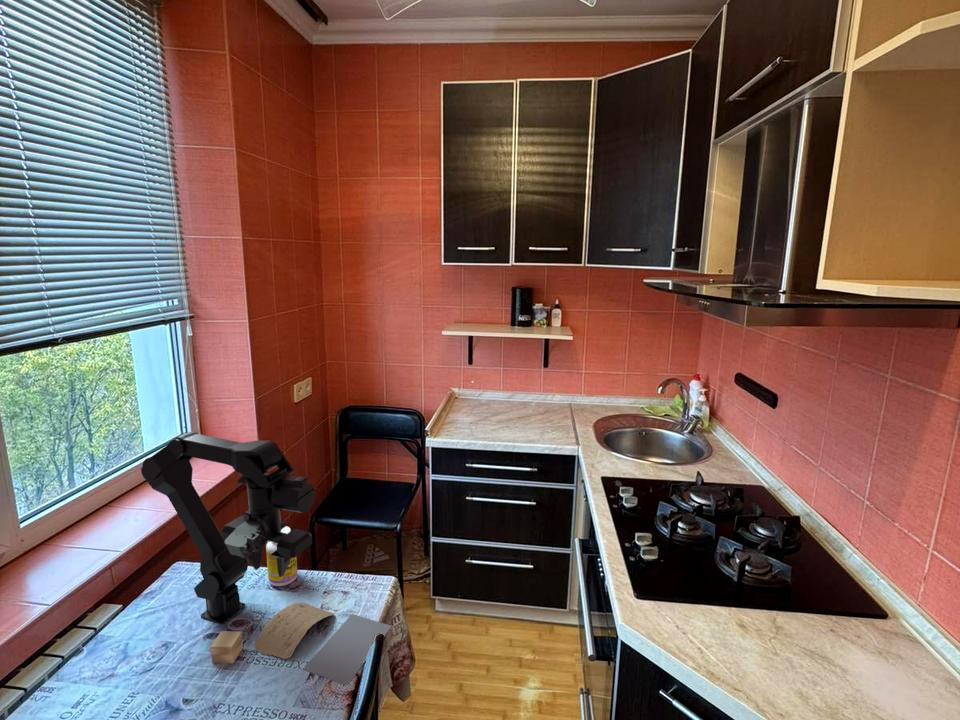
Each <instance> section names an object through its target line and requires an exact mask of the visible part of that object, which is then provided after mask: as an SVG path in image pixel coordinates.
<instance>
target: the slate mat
mask: <svg viewBox="0 0 960 720" xmlns="http://www.w3.org/2000/svg"><path fill="white" fill-rule="evenodd" d="M391 628H393V626H392V625H390V624H387V623H383V622H380V621H377V620H374V619H370V618H367V617H364V616H360V615H357V614H354V613H352V614H350V616H349V617H348V618H347V619H346V620H345V621H344V622H343V624H341V625H340V627H339V628H338V629H337V630H336V631H335V632H334V633H333V635H332V636H331V637H330V638H329V639H328V640H327V641H326V642H325V643H324V644H323V646H322V647H321V648H320V649H319V650H318V651H317V652H316V654H314V656H313V657H312V658H311V659H310V660H309V661H308V662H307V663H306V665H304V667H303V668H302V670H303V671H306V672H307V673H308V672H309V673H311V674H314V675H316V676H319V677H321V678H324V679H327V680H329V681H330V680H331V681H333V682H336V683H338V684H341V685H344V686H348V685H349V683H351V681H352V680H353V679H354V678H355V676H356V675H357V673H358V672H359V671H360V670H361V668H362V667H363V666H362V665H364V664H363V661H364V658H365V656H366V654H367V653H368V651H369V649H370V647H371V645H372V642H373V639H374V635H376V634H378V633H380V634H383V635H384V638H385V636H387V634H388V633H389V632H390V630H391Z"/></svg>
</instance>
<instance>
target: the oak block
mask: <svg viewBox="0 0 960 720" xmlns="http://www.w3.org/2000/svg"><path fill="white" fill-rule="evenodd" d="M242 634H243V633H242V631H233V630H232V631H224V630H221V631H220V633H219V634H218V635H217V637H216V638H215V639H214V640H213V642H212V644H211V645H210V654H211V663H212V664H234V662H235V661H236V659H237V658H238V656H239V655H240V653H241V651H242V650H243V648H244V645H243V635H242Z"/></svg>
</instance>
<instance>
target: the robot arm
mask: <svg viewBox="0 0 960 720" xmlns="http://www.w3.org/2000/svg"><path fill="white" fill-rule="evenodd" d="M194 458H195V459H199V460H203V461H204V460H205V461H209V462H212V463H218V464H223V465H226V466H230V467H232V468H233V470H234V472H235V473H237V474H239V475H242V476H241V477H240V478H238V479H237V483H238V484H241V485H246V488H247V489H246V490H247V500H248V501H247V502H248V510H246V511H245V512H244V515H240V516H238V517H237V518H235V519H232V520H231V521H230V522H228V523H227V524H224V526H223V528H222V530H221V531H220V530H219V528H218V526H217V524H216V522H215V521H214V519H213V518H212V516H211V514H210V513H209V511H208V509H207V507H206V506H205V504H204V502H203V500H202V498H201V497H200V495H199V493H198V491H197V490H196V488H195V487H194V485H193V470H194V469H193V466H192V463H191V461H192V459H194ZM275 468H277V469H276V470H274V469H275ZM272 470H274V471H273V472H271V473H268V472H270V471H272ZM294 472H295V469H294V468H293V466H292V465H291V462H289V460H288V459H287V458H286V456H285V455H284V453H283V452H282V450H281V449H280V448H279V446H278V443H276V442H275V441H272V440H252V441H246V442H241V441H239V442H238V441H235V440H229V439H226V438H219V437H214V436H211V435H210V436H209V435H205V434H199V433H198V432H197V431H188V432H187V433H184V434H181V435H178V436H176V437H174V438H173V439H172V440H170V442H169V443H168V444H167V445H166V446H164V447H163V448H162V449H160V450H158V451H157V452H156V453H154V454H153V455H152V456H150V457H147V458H145V459H144V460H143V462H142V467H141V469H140V473H141V475H142V477H143V478H144V480H145V481H146V482H147V484H148V485H149V486H150V487H151V489H152V490H154V491H157V492H158V493H160V494H162V495H164V496H166V497H167V498H168V500H169V502H170V504H171V505H172V507H173V508H174V511H175V512H176V514H177V515H178V517H179V518H180V520H181V522H182V523H183V526H184V528H185V529H186V531H187V533H188V534H189V536H190V538H191V540H192V541H193V543H194V545H195V546H196V548H197V550H198V551H199V554H200V561H199V562H200V564H199V571H200V574H201V576H202V578H203V579H202V580H201V581H199V583H198V584H196V585H195V587H194V588H193V590H194V592H195V595H196V597H197V598H199V599H203V600H205V608H206V610H205V611H204V612H202V613H201V614H200V617H201V618H202V619H205V620H208V621H210V622H212V623H216V624H218V625H224V624H225V623H227V622H228V621H229V620H231V618H233V617H234V616H235V615H236V614H238V613H239V612H240V611H242V610H243V609H244V608H245V607H246V603H244V602H242V601H241V598H240V593H239V587H238V585H237V583H238V582H239V581H241V580H242V579H243V578H244V576H245V574H246V573H247V571H248V568H249V567H248V566H249V561H250V563H251V565H252V568H253V569H254V571H258V570H259V569H260V568H261V563H262V557H263V556H262V555H263V547H264V546H265V544H267V543H268V542H271V541H272V542H275V543H278V544H277V550H276V551H275V552H273V553H272V554H271V555H272V556H274V557H276V560H277V569H278V574H279V577H282V576H283V575H284V574H285V571H286V569H287V567H288V564H289V562H290V560H291V558H295V557H296V558H297V557H298V556H299V555H301V553H303V552H304V551H305V550H306V549H308V548H309V547H310V546H312V545H313V536H312V533H311V532H309V531H306V530H301V529H299V528H298V529H297V528H294V529H293V530H291V532H290V533H288V534H287V533H283V532H281V530H282V529H283V528H284V527H286V526H287V525H286V522H285V521H281V520H282V518H281V511H282V510H283V511H289V512H294V513H295V512H296V513H300V514H301V513H302V514H304V513H308V512H309V510H310V509H311V508H312V506H313V505H314V502H315V499H316V488H314V485H313V484H312V483H310V482H309V478H308V477H307V476H294V475H291V474H293V473H294Z"/></svg>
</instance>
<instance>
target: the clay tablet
mask: <svg viewBox="0 0 960 720" xmlns="http://www.w3.org/2000/svg"><path fill="white" fill-rule="evenodd" d="M333 615H335V613H333V612H330V611H327V610H323V609H322V608H319V607H317V606H314V605H310V604H308V603H305V602H294V603H292V604H289V605H287V606H285V607H284V608H282V609H281V610H279V611H278V612H277V613H276V614H275V615H274V616H273V617H272V618H271V619H270V620H269V621H268V622H267V624H266V625H265V626H264V627H263V629H262V631H261V632H260V634H259V636H257V639H256V641H255V642H254V643H253V644H254V649H255V650H256V651H257V652H259V653H261V654H262V655H264V656H266V655H270V656H275V657H277V658H280V659H290V658H291V656H292V655H293V653H294V651H295V650H296V647H297V646H298V645H299V644H300V642H301V640H302V638H304V636H305V635H306V634H307V631H308V630H309V629H311V628H312V626H313V625H315V624H316V623H318V622H319V621H321V620H323V619H325V618H327V617H330V616H333Z"/></svg>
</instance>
